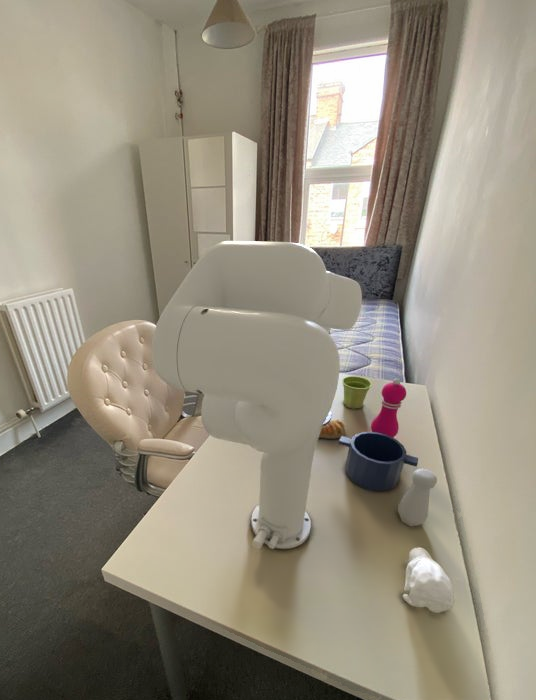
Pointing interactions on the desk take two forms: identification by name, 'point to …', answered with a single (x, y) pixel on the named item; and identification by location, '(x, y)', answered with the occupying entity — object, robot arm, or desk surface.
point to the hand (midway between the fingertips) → (303, 409)
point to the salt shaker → (417, 498)
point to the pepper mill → (389, 409)
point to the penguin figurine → (427, 583)
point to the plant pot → (355, 391)
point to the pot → (375, 460)
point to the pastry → (333, 430)
